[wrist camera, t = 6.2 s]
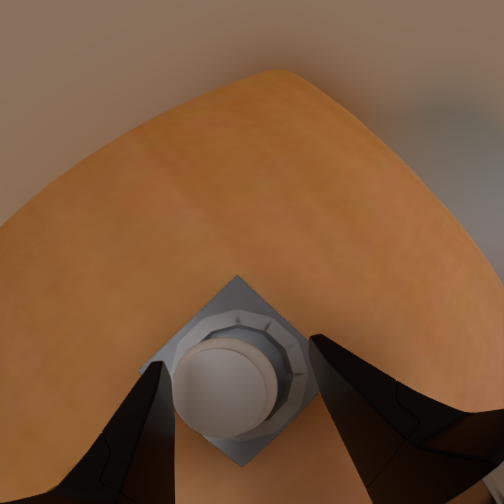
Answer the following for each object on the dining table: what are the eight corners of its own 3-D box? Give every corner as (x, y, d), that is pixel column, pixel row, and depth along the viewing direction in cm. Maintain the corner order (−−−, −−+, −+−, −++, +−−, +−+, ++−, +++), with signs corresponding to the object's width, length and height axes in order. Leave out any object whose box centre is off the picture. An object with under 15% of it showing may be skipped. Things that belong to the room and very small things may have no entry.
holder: (335, 367, 21) (350, 368, 18) (241, 463, 18) (242, 479, 15) (236, 277, 23) (237, 265, 20) (140, 370, 20) (126, 371, 17)
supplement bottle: (266, 415, 18) (280, 457, 9) (193, 408, 18) (152, 442, 9) (270, 345, 20) (289, 335, 11) (198, 340, 20) (160, 324, 11)
